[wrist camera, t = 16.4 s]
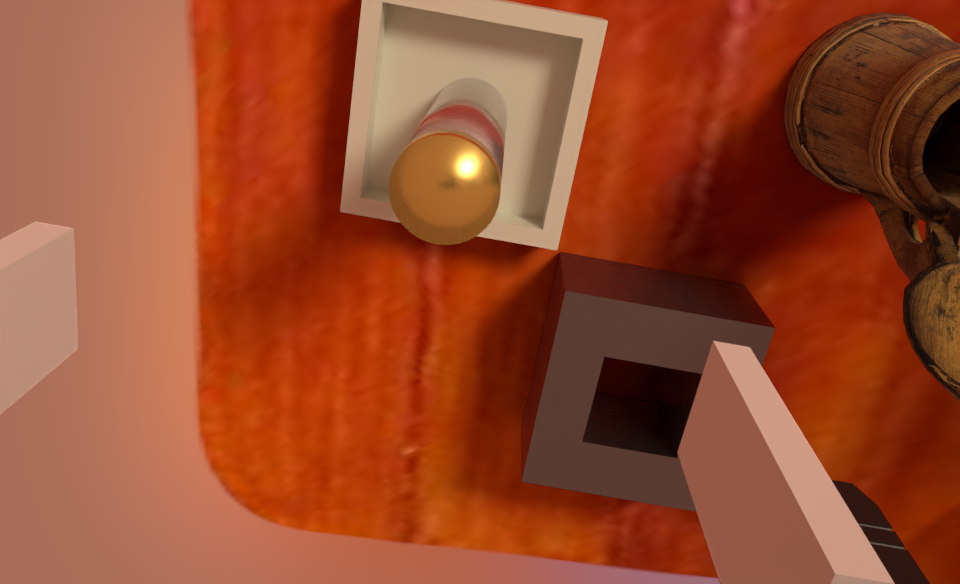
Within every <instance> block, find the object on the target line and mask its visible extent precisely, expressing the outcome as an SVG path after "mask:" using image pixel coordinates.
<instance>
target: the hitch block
mask: <svg viewBox="0 0 960 584" xmlns="http://www.w3.org/2000/svg"><path fill="white" fill-rule="evenodd" d="M774 330H775V327H774V326H773V324H772V323H771V321H770V320H769V319H768V317H767V316H766V314H765V313H764V312H763V310H762V309H761V308H760V306H759V305H758V303H757V302H756V301H755V299H754V298H753V296H752V295H751V294H750V292H749V291H748V289H747V288H746V287H745V285H743V284H737V283H732V282H726V281H720V280H715V279H709V278H703V277H698V276H692V275H686V274H681V273H675V272H670V271H664V270H658V269H653V268H647V267H641V266H636V265H630V264H624V263H619V262H613V261H608V260H602V259H596V258H591V257H585V256H579V255H574V254H568V253H562V252H560V254H559V259H558V263H557V268H556V272H555V277H554V281H553V286H552V290H551V295H550V299H549V304H548V308H547V313H546V317H545V321H544V326H543V330H542V335H541V339H540V344H539V348H538V353H537V357H536V362H535V366H534V371H533V375H532V380H531V384H530V389H529V393H528V398H527V402H526V407H525V411H524V415H523V420H522V424H521V482H526V483H532V484H538V485H544V486H550V487H556V488H561V489H567V490H573V491H579V492H585V493H591V494H596V495H602V496H608V497H614V498H620V499H626V500H631V501H637V502H643V503H649V504H655V505H661V506H666V507H672V508H678V509H684V510H690V511H696V508H695V505H694V502H693V499H692V496H691V493H690V490H689V487H688V484H687V481H686V478H685V475H684V472H683V469H682V465H681V462H680V459H679V456H678V453H677V452H678V449H679V446H680V443H681V439H682V436H683V433H684V430H685V427H686V424H687V421H688V418H689V414H690V411H691V408H692V405H693V402H694V399H695V396H696V393H697V389H698V386H699V383H700V380H701V377H702V374H703V371H704V368H705V365H706V361H707V358H708V355H709V352H710V349H711V346H712V343H713V341H718V342H723V343H729V344H735V345H740V346H746V347H750V348H751V350H752V352H753V353H754V355H755V356H756V358H757V360H758V361H759V363H760V365H761V366H762V364H763V361H764V358H765V356H766V353H767V350H768V347H769V344H770V341H771V339H772V336H773V333H774ZM604 357H608V358H614V359H620V360H626V361H631V362H637V363H643V364H648V365H654V366H660V367H666V368H670V369H669V373H668V376H667V379H666V383H665V386H664V389H663V393H662V396H661V399H660V403H656V402H650V401H645V400H639V399H633V398H627V397H622V396H616V395H610V394H604V393H599V392H595V391H596V387H597V383H598V379H599V376H600V372H601V368H602V364H603V360H604ZM696 512H697V511H696Z"/></svg>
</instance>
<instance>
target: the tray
mask: <svg viewBox="0 0 960 584" xmlns="http://www.w3.org/2000/svg"><path fill="white" fill-rule="evenodd" d="M607 24H608V21H607V20H605V19H603V18H599V17H593V16H588V15H582V14H577V13H571V12H566V11H561V10H555V9H550V8H544V7H539V6H533V5H528V4H522V3H517V2H512V1H506V0H362V4H361V14H360V23H359V33H358V43H357V52H356V62H355V71H354V81H353V91H352V100H351V110H350V120H349V129H348V139H347V149H346V158H345V168H344V178H343V187H342V197H341V207H340V212H343V213H349V214H354V215H360V216H366V217H371V218H377V219H383V220H388V221H394V222H399V223H400V221H399V220H398V219H397V217H396V215H395V213H394V211H393V209H392V206H391V203H390V198H389V180H390V175H391V172H392V169H393V167H394V165H395V163H396V161H397V160H398V158H399V156H400V155H401V153H402V152H403V150H404V149H405V147H406V146H407V144H408V142H409V141H410V139H411V138H412V136H413V135H414V133H415V131H416V130H417V128H418V127H419V125H420V124H421V122H422V121H423V119H424V117H425V116H426V114H427V113H428V111H429V110H430V108H431V107H432V105H433V103H434V102H435V100H436V99H437V97H438V96H439V94H440V93H441V91H442V90H443V89H444V88H445V87H446V86H447V85H449V84H450V83H452V82H454V81H456V80H459V79H463V78H477V79H481V80H484V81H486V82H488V83H490V84H491V85H492V86H494V87H495V88H496V89H497V90H498V91H499V93H500V94H501V95H502V97H503V99H504V101H505V104H506V108H507V127H506V138H505V148H504V159H503V170H502V180H501V191H500V200H499V205H498V209H497V211H496V214H495V216H494V218H493V219H492V221H491V223H490V224H489V225H488V226H487V228H486V229H484V230H483V231H482V232H481V233H480V234H479V235H477V236H478V237H484V238H490V239H495V240H501V241H506V242H512V243H518V244H523V245H529V246H535V247H540V248H546V249H552V250H557V249H558V245H559V240H560V236H561V231H562V227H563V222H564V218H565V213H566V209H567V204H568V200H569V195H570V191H571V186H572V182H573V177H574V173H575V168H576V164H577V159H578V155H579V150H580V146H581V141H582V137H583V132H584V128H585V123H586V119H587V114H588V110H589V105H590V101H591V96H592V92H593V87H594V83H595V78H596V73H597V69H598V64H599V60H600V55H601V51H602V46H603V42H604V37H605V33H606V28H607Z"/></svg>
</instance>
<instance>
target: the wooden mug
mask: <svg viewBox="0 0 960 584" xmlns="http://www.w3.org/2000/svg"><path fill="white" fill-rule="evenodd" d="M784 124H785V128H786V133H787V137H788V142H789V146H790V147H791V149H792V151H793V152H794V154H795V156H796V157H797V159H798V160H799V162H800V164H801V165H802V166H803V167H804V168H806V169H807V170H808V171H810V172H811V173H812V174H814V175H815V176H816V177H818V178H819V179H821V180H822V181H824V182H826V183H828V184H830V185H831V186H833V187H835V188H837V189H839V190H842V191H847V192H852V193H859V194H862V195H863V196H864V197H865V198H866V199H867V200H868V201H869V202H870V203H871V204H872V205H873V207H874V209H875V211H876V214H877V216H878V218H879V220H880V222H881V225H882V228H883V230H884V233H885V236H886V238H887V241H888V244H889V246H890V248H891V250H892V253H893V255H894V257H895V259H896V262H897V264H898V266H899V267H900V268H901V269H902V271H903V272H904V273H905V274H906V276H907V277H908V278H909V279H910V281H911V282H910V283H909V284H908V285H907V287H906V288H905V290H904V299H903V321H904V325H905V328H906V332H907V335H908V338H909V340H910V343H911V345H912V347H913V350H914V351H915V353H916V354H917V356H918V357H919V359H920V360H921V362H922V363H923V365H924V366H925V368H926V369H927V370H928V371H929V372H930V373H931V374H932V375H933V376H934V377H935V378H936V379H937V380H938V382H939V383H940V384H941V385H942V386H943V387H944V388H945V389H946V390H947V391H949V392H950V393H951V394H952V395H953V396H954V397H955V398H956V399H958V400H959V401H960V44H958V43H956V42H954V41H952V40H951V38H949V37H948V36H946V35H945V34H943V33H942V32H941V31H939V30H938V29H936V28H935V27H934V26H932V25H930V24H927V23H925V22H922V21H920V20H917V19H915V18H912V17H910V16H907V15H905V14H894V13H882V12H881V13H875V14H870V15H864V16H858V17H855V18H853V19H851V20H849V21H846V22H844V23H842V24H839V25H837V26H835V27H833V28H832V29H831V30H829V31H828V32H827V33H825V34H824V35H823V36H822V37H820V38H819V39H818V40H816V41H815V42H814V43H813V44H812V45H811V46H810V47H809V49H808V50H807V51H806V52H805V53H804V55H803V56H802V57H801V58H800V59H799V61H798V62H797V64H796V67H795V69H794V71H793V74H792V76H791V78H790V80H789V83H788V88H787V94H786V99H785V104H784ZM918 218H919V219H920V220H923V221H926V222H927V224H926V232H925V240H924V241H923V242H922V241H921V238H920V235H919V232H918V228H917V224H918Z"/></svg>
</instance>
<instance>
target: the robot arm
mask: <svg viewBox="0 0 960 584" xmlns="http://www.w3.org/2000/svg"><path fill="white" fill-rule="evenodd" d="M75 278H76V277H75V249H74V228H71V227H65V226H59V225H54V224H48V223H42V222H37V221H36V222H34V223H32V224H30V225H28V226H26V227H24V228H22V229H20V230H18V231H16V232H14V233H12V234H10V235H8V236H6V237H4V238H2V239H0V414H2V413H3V412H4V411H5V410H6V409H8V408H9V407H10V406H11V405H12V404H14V403H15V402H16V401H17V400H18V399H19V398H21V397H22V396H23V395H24V394H25V393H26V392H28V391H29V390H30V389H31V388H32V387H34V386H35V385H36V384H37V383H38V382H39V381H40V380H42V379H43V378H44V377H45V376H47V375H48V374H49V373H50V372H51V371H52V370H53V369H55V368H56V367H57V366H58V365H60V364H61V363H62V362H63V361H64V360H65V359H67V358H68V357H69V356H70V355H71V354H72V353H74V352H75V351H76V350H77V349H78V331H77V304H76V279H75ZM677 453H678V456H679V459H680V462H681V465H682V469H683V472H684V475H685V478H686V481H687V484H688V487H689V490H690V493H691V496H692V499H693V502H694V505H695V508H696V511H697V515H698V518H699V521H700V524H701V527H702V530H703V533H704V536H705V539H706V542H707V545H708V548H709V551H710V554H711V557H712V560H713V564H714V567H715V570H716V573H717V576H718V579H719V582H720V584H930V583H929V582H928V580H927V579H926V577H925V576H924V574H923V573H922V571H921V570H920V568H919V567H918V565H917V564H916V562H915V561H914V559H913V558H912V556H911V555H910V553H909V552H908V551H907V550H904V545H903V543H902V542H901V540H900V539H899V537H898V536H897V534H896V533H895V532H893V531H892V527H891V525H890V524H889V522H888V521H887V519H886V518H885V516H884V515H883V513H882V512H881V510H880V509H879V507H878V506H877V505H876V504H875V503H874V502H873V501H872V500H871V499H869V498H868V497H867V496H866V495H865V494H864V493H862V492H861V491H860V490H859V489H858V488H857V487H856V486H854V485H853V484H852V483H846V482H840V481H835V480H831V479H830V477H829V476H828V474H827V472H826V471H825V469H824V467H823V466H822V464H821V462H820V461H819V459H818V458H817V456H816V454H815V453H814V451H813V449H812V448H811V446H810V445H809V443H808V441H807V440H806V438H805V436H804V435H803V433H802V431H801V430H800V428H799V427H798V425H797V423H796V422H795V420H794V418H793V417H792V415H791V414H790V412H789V410H788V409H787V407H786V405H785V404H784V402H783V400H782V399H781V397H780V396H779V394H778V392H777V391H776V389H775V387H774V386H773V384H772V383H771V381H770V379H769V378H768V376H767V374H766V373H765V371H764V369H763V368H762V366H761V365H760V363H759V361H758V360H757V358H756V356H755V355H754V353H753V352H752V350H751V348H750V347H746V346H740V345H735V344H729V343H723V342H718V341H713V343H712V346H711V349H710V352H709V355H708V358H707V361H706V365H705V368H704V371H703V374H702V377H701V380H700V383H699V386H698V389H697V393H696V396H695V399H694V402H693V405H692V408H691V411H690V414H689V418H688V421H687V424H686V427H685V430H684V433H683V436H682V439H681V443H680V446H679V449H678V452H677Z"/></svg>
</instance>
